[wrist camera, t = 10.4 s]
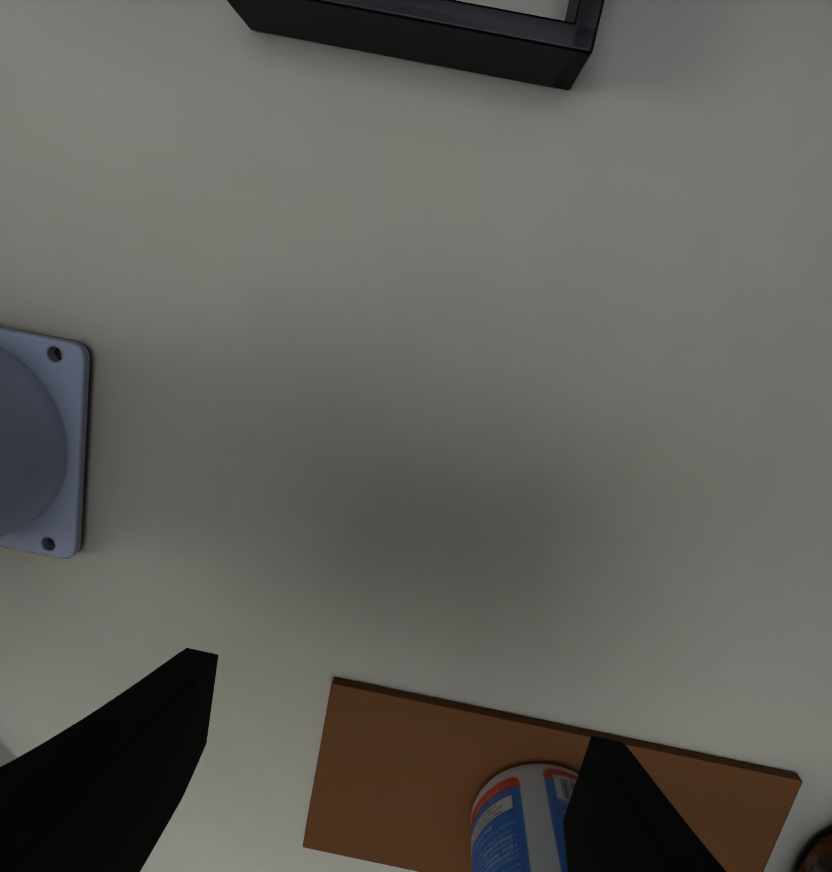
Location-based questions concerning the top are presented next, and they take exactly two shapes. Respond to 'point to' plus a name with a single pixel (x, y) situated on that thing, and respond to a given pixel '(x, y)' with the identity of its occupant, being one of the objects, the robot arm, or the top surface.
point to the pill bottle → (522, 820)
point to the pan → (442, 33)
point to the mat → (489, 756)
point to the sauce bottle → (819, 857)
